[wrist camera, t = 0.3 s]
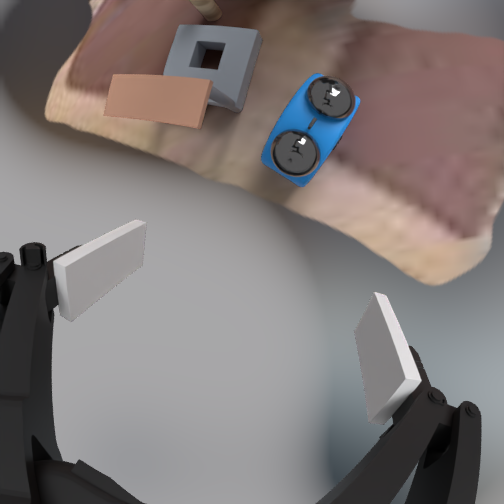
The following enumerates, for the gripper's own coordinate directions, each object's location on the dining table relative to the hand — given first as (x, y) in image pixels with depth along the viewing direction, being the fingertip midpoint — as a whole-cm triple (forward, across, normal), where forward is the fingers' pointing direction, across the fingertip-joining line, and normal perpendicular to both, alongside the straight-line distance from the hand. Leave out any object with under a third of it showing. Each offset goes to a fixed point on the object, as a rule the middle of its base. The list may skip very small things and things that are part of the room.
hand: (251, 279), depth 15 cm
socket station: (+27, -15, +15) cm, 35 cm away
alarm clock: (+28, +1, +10) cm, 29 cm away
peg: (+27, -18, +27) cm, 42 cm away
